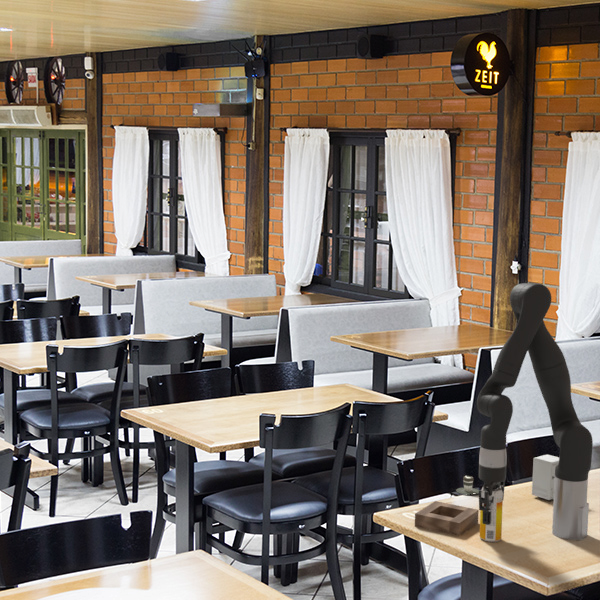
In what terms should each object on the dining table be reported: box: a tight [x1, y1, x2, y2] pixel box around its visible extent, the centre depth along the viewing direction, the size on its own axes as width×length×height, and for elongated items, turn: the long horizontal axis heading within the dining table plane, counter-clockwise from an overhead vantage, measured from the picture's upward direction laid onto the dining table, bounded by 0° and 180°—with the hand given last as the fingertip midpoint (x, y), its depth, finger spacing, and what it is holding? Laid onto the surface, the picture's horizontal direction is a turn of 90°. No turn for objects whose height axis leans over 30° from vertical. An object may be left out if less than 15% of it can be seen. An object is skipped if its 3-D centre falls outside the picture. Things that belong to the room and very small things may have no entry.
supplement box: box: [531, 454, 559, 501], centre depth 315 cm, size 7×7×13 cm
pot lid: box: [455, 475, 480, 496], centre depth 320 cm, size 12×12×5 cm
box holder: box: [414, 500, 480, 537], centre depth 285 cm, size 14×14×4 cm
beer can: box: [479, 486, 504, 543], centre depth 273 cm, size 6×6×15 cm
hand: (491, 520), depth 273 cm, fingers closed on beer can, 6 cm apart
